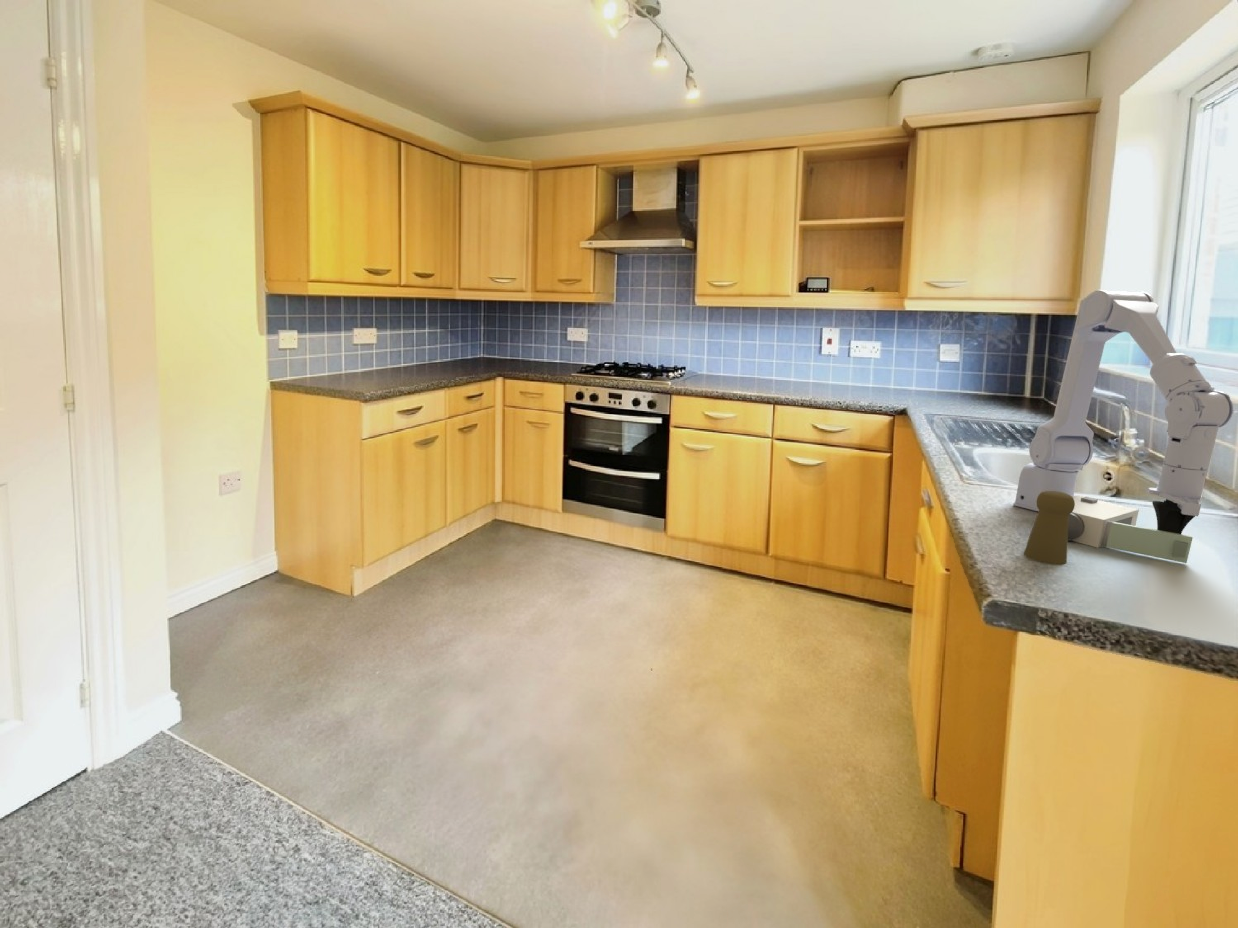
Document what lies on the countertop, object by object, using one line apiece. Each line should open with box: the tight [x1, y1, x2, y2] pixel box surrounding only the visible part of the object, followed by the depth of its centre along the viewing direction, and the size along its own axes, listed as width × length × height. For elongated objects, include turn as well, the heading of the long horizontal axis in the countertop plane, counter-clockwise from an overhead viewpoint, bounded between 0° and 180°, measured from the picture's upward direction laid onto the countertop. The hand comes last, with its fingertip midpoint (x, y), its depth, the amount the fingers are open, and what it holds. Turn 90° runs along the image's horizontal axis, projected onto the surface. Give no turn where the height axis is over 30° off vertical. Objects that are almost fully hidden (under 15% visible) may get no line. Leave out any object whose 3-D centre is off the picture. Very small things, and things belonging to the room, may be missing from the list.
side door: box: [1102, 521, 1194, 564], centre depth 115 cm, size 2×11×4 cm, turn 52°
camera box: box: [1067, 495, 1140, 548], centre depth 126 cm, size 10×16×6 cm, turn 124°
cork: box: [1023, 491, 1075, 565], centre depth 112 cm, size 6×6×11 cm
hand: (1165, 545), depth 115 cm, fingers closed, pressing on side door
